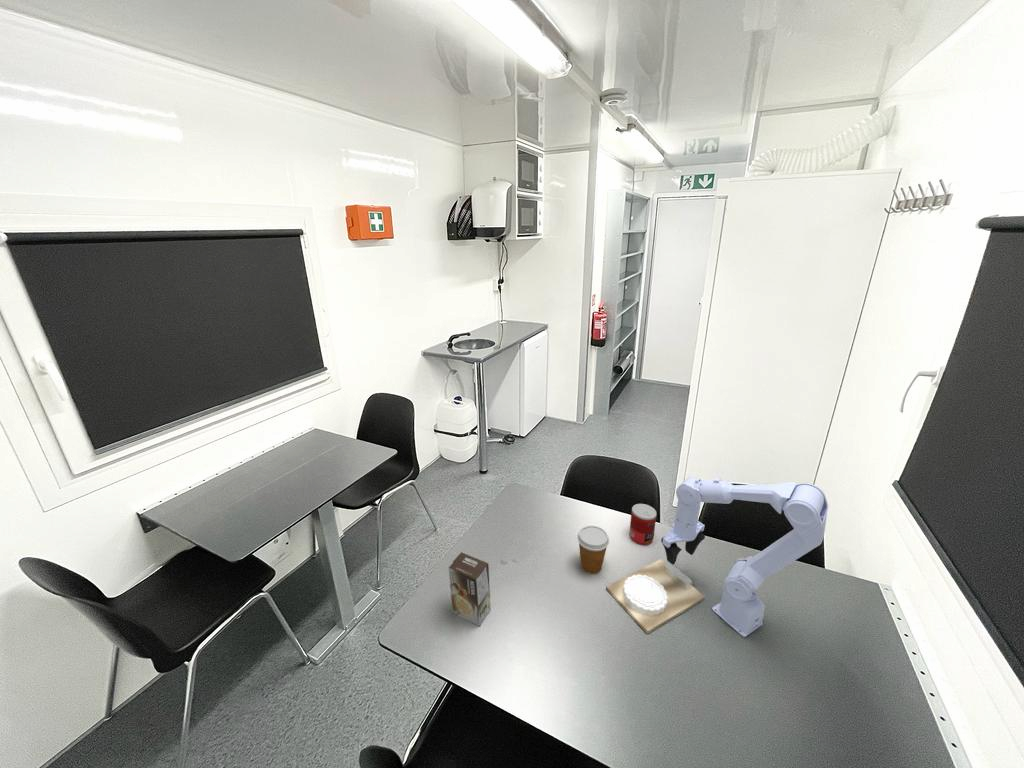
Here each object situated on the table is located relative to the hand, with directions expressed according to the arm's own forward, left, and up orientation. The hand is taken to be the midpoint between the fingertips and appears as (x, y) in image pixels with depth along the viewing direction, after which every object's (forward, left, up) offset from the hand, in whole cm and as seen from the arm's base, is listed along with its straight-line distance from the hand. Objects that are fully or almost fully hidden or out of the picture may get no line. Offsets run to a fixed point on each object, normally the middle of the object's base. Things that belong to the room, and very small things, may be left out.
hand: (680, 557), depth 115 cm
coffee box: (+20, +57, -10) cm, 61 cm away
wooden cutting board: (0, +9, -9) cm, 13 cm away
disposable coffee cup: (+17, +18, -10) cm, 27 cm away
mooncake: (0, +13, -9) cm, 16 cm away
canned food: (+19, -5, -10) cm, 22 cm away
